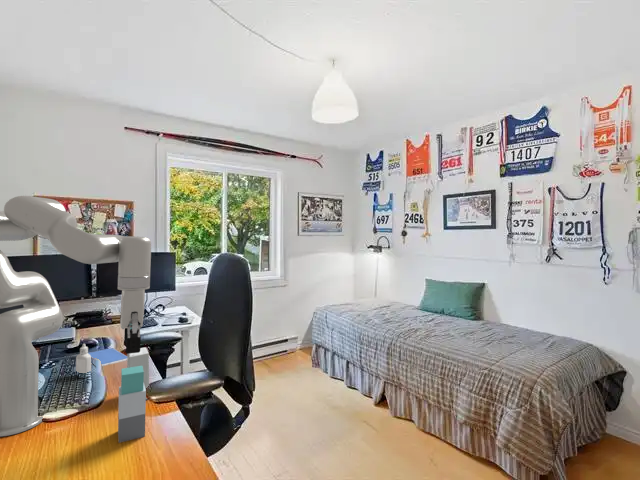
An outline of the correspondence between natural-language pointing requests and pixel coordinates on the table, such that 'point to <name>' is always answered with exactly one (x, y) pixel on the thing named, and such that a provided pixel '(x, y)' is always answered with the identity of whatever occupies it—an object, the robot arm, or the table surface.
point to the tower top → (132, 404)
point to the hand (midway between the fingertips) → (131, 347)
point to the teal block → (132, 379)
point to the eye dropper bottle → (83, 360)
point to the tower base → (131, 427)
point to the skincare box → (140, 363)
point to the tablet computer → (108, 356)
